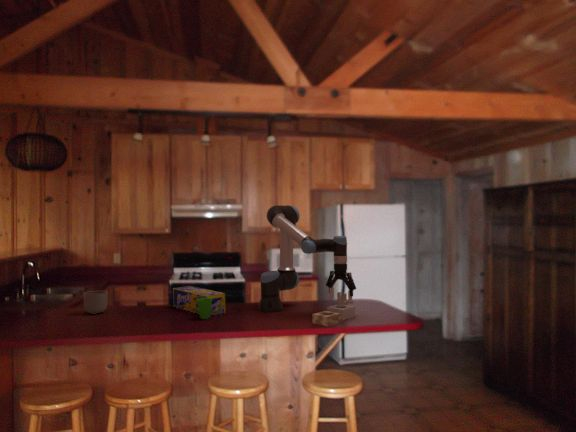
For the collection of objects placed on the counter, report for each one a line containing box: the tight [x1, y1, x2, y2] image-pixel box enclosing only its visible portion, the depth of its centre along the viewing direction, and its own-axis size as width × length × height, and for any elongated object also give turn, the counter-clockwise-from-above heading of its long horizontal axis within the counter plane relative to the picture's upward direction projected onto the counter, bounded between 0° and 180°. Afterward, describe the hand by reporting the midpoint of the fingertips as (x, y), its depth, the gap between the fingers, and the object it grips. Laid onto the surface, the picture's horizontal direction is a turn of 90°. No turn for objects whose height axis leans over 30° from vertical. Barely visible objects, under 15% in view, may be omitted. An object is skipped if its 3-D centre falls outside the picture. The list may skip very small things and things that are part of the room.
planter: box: [82, 290, 109, 314], centre depth 273 cm, size 14×14×13 cm
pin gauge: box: [336, 291, 345, 308], centre depth 253 cm, size 4×4×14 cm
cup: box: [196, 298, 212, 320], centre depth 255 cm, size 9×9×11 cm
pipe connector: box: [344, 292, 354, 305], centre depth 272 cm, size 10×10×10 cm
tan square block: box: [311, 310, 343, 328], centre depth 240 cm, size 11×11×5 cm
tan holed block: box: [326, 304, 356, 321], centre depth 253 cm, size 11×11×6 cm
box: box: [172, 285, 226, 317], centre depth 278 cm, size 40×14×13 cm, turn 43°
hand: (340, 300), depth 253 cm, fingers open, 13 cm apart
